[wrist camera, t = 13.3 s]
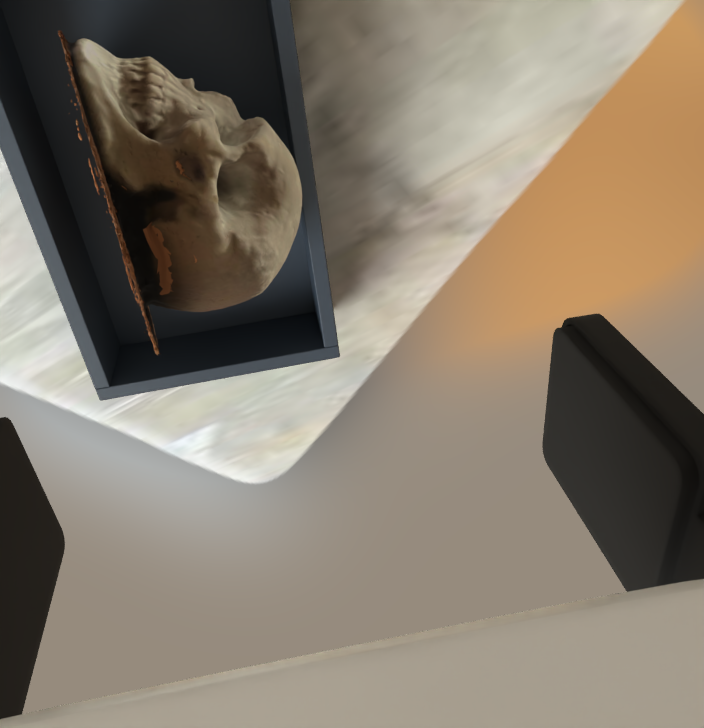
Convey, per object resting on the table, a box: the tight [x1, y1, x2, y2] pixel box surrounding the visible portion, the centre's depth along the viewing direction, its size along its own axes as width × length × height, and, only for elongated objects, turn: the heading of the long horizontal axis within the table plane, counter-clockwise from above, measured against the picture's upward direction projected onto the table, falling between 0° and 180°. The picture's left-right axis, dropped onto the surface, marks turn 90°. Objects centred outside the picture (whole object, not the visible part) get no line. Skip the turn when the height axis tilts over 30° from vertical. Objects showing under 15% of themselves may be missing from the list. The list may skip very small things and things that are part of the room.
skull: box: [58, 30, 302, 356], centre depth 26 cm, size 12×10×10 cm
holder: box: [0, 0, 340, 400], centre depth 29 cm, size 18×12×5 cm, turn 6°
